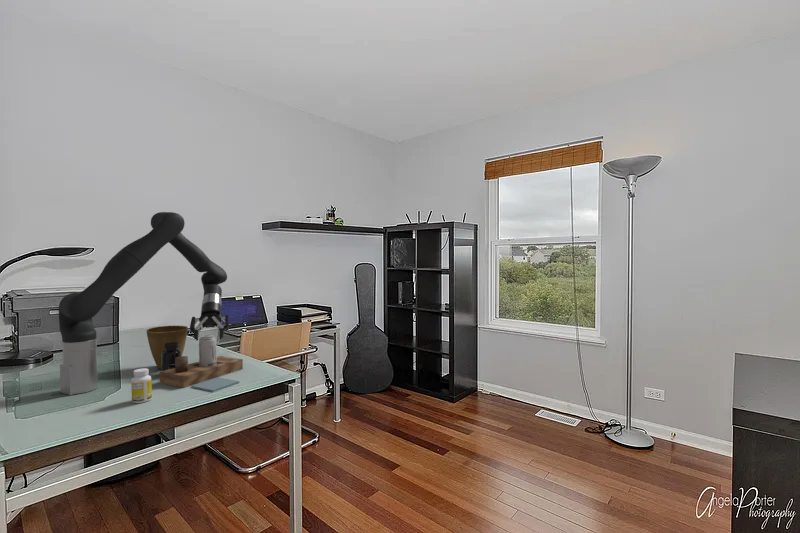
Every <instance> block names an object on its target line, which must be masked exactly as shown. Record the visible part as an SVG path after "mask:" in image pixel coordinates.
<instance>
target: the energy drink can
mask: <svg viewBox="0 0 800 533" xmlns="http://www.w3.org/2000/svg"><path fill="white" fill-rule="evenodd" d="M198 354H199V355H198V356H199V357H198V362H199V367H205V368H207V367H210V366H214V365H216V357H217V338H216V337H215V334H203V335H201V336H200V338H199V339H198Z"/></svg>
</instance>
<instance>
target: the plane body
mask: <svg viewBox="0 0 800 533" xmlns="http://www.w3.org/2000/svg"><path fill="white" fill-rule="evenodd" d="M188 358H189V356H188V355H182V356H180V357H176V358H175V368H172V369H168V370H165V371H161V370H160V371H159V384H164V385H169V386H172V385H173V387H177V386H178V387H179V388H182V387H183V388H182V389H184V387H185V388H188V387H190V386H192V385H195V384H198V383H200V382H205V381H208V380H211V379H214V378H217V377H219V376H220V377H223V376H225V374H226V375H229V374H232V373H235V372H238V371H241V369H242V370H243V369H244V368H243V365H244V364H243V363H244V362H243V359H242V358H236V357H231V356H230V357H229V356H223V355H218V356H216V365H214V366H210V367H207V368H205V367H199V361H196V362H192V363H189V362H188V361H189V359H188ZM237 370H238V371H237ZM234 371H235V372H234ZM231 372H232V373H231ZM228 373H229V374H228ZM222 375H223V376H222ZM220 377H219V378H220ZM187 386H188V387H187Z"/></svg>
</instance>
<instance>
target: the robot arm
mask: <svg viewBox="0 0 800 533" xmlns="http://www.w3.org/2000/svg"><path fill="white" fill-rule="evenodd" d="M185 223H186V222H185V219H184V217H183V216H182V215H181V214H180V213H176V212H172V211H166V212H165V211H161V212H157V213H155V214H153V216H151V218H150V226H151V230H150V231H149V232H148V233H146V235H143V236H142V237H140V238H137V239H136V240H134V241H132V242H130V243H129V244H127V245H125V246H124V247H123V248H120V250H119V251H118V252H117V253H115V255H114V256H113V257H112V258H111V259H109V260H108V262H107V263H106V264H105V266H104V268H103V269H102V271H101V272H100V274H99V276H98V277H97V278H96V279H95V280H94V281H93V282H92V283H91V284H90V285H89V286H87V287H86V288H84V289H83V290H82V291H80V292H72V293H69V294H67V295H65V296H64V297H62V298H61V300H60V301H59V305H58V323H59V333H60V335H61V343H62V344H61V345H62V347H61V348H62V363H60V365H59V381H60V382H59V387H60V388H59V389H60V393H61V394H65V395H68V396H73V395H77V394H83V393H89V392H91V391H95V390H97V389H98V387H99V386H98V383H99V381H98V346H97V345H98V344H97V343H98V342H97V337H98V336H97V335H98V334H97V330H96V329H95V327H94V323H93V317H95V316H96V315H97V314H98V313H99V312H100V311H101V309H103V307H104V306H105V304H106V303H107V302H108V301H109V300H110V299H111V298H112V296H113V295H115V294H116V292H117V291H118V290H120V289H121V288H122V287H123V286H124V285H126V283H127V282H128V281H129V280H130V279H131V278H133V277H134V276H135V275H136V274H137V273H138V272H139V271H140V270H141V269H142V268H143V267H144V266H145V265H146V264H147V263H148V262H149V261H150V260H151V259H152V258H153V257H154V256H155V255H156V254H157V253H158V252H159V251H160V250H161V249H162V248H163V247H164V246H165V245H167V244H168V243H169V244H170V245H171V246H172V247H173V248H175V249H176V251H178V252H179V253H180V254H181V255H182V256H183V258H185V259H186V261H187V262H188V263H189V264H190V265H191V266H192V267H193V268H194V269H195V270H196V271H197V272H199V273H203V274H202V275H201V278H200V281H201V283H202V286H203V298H202V302H201V311H200V317H195V316H192V317H191V321H190V325H189V330H190V333H194V334H193V337H194V340H195V341H198V342H199V336H200V335H199V334H200V332H201V331H203V330H204V329H205V328H206V329H209V328H215V327H216V328H217V329H218V330H219V333H218V334H219V335H218V336H219V340H222V339H223V338H224V335H225V334H224V333H225V331H229V330H230V321H229V318H230V317H229V315H226V314H225V316H222V315H221V314H222V304H223V303H222V302H223V301H222V296H223V295H222V291H223V290H222V287H221V286H220V285H221V284H224V283H225V282H227V280H228V275H227V272H226V270H224V268H223V267H222V266H220V265H218V264H217V263H216V262H214V261H213V260H211V259H210V258H209V257H208V256H207V254H206V253H205V252H204V251H203V250H202V249H201V248H199V246H198V245H196V244H195V243H194V242H192V241H190V240H189V239H188V238H187V237H186V236H185V235H184V234H182V231H183V230H184V228H185V225H186V224H185ZM221 321H223V322H224V323H225V324H224V325H223V324H222V323H221ZM197 323H198V324H197ZM196 324H197V325H196Z"/></svg>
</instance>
